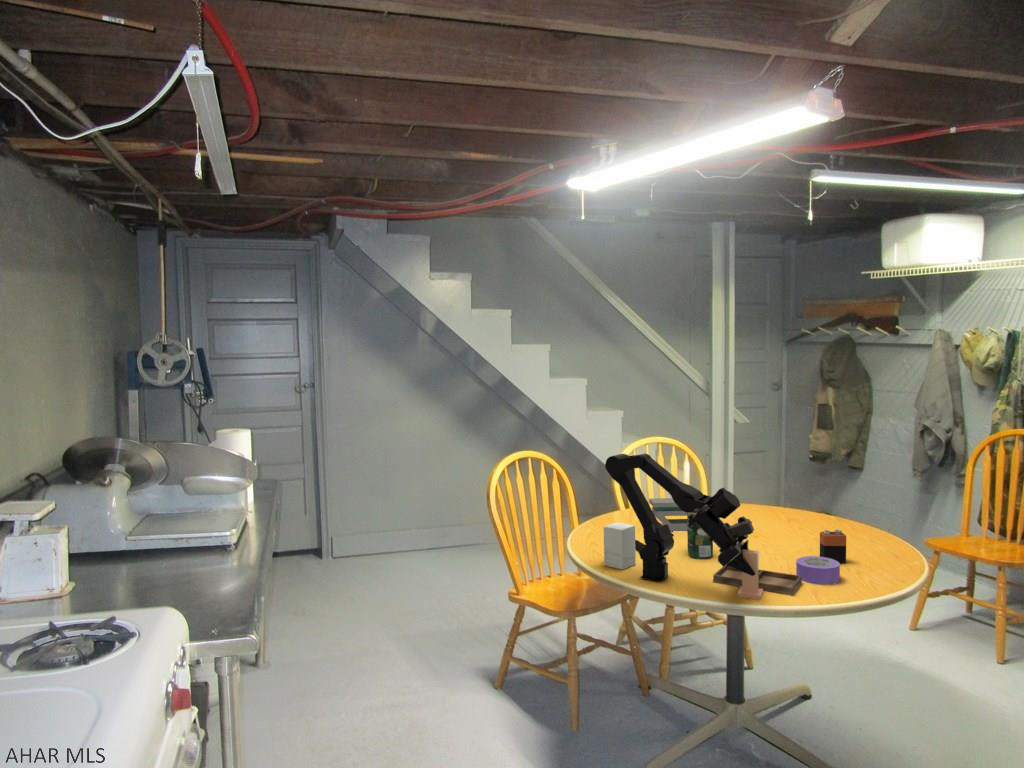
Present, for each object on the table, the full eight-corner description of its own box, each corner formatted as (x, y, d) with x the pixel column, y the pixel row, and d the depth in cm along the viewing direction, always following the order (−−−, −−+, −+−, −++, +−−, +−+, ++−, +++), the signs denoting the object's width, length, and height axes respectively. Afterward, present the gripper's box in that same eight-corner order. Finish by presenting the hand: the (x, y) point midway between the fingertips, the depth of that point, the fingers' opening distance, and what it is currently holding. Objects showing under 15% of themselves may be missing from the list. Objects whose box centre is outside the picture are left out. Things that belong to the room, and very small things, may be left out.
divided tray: (713, 581, 208) (713, 575, 208) (725, 570, 218) (725, 564, 217) (792, 595, 195) (792, 588, 195) (801, 582, 205) (801, 576, 205)
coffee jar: (685, 550, 239) (685, 496, 238) (709, 551, 239) (709, 496, 238) (689, 559, 230) (689, 502, 229) (715, 559, 229) (714, 502, 228)
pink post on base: (737, 596, 195) (737, 553, 195) (740, 589, 201) (740, 547, 200) (760, 599, 193) (760, 555, 192) (763, 592, 198) (763, 549, 198)
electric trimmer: (640, 547, 246) (640, 538, 246) (661, 559, 231) (661, 550, 231) (630, 548, 245) (630, 539, 245) (650, 561, 230) (650, 551, 230)
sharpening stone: (714, 525, 272) (714, 497, 271) (721, 530, 264) (720, 501, 264) (649, 526, 272) (649, 498, 271) (653, 532, 264) (653, 503, 263)
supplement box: (636, 564, 225) (636, 525, 224) (622, 570, 220) (622, 529, 219) (617, 560, 230) (617, 521, 230) (603, 565, 225) (602, 525, 224)
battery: (846, 563, 223) (846, 532, 222) (824, 563, 223) (824, 532, 223) (841, 559, 227) (841, 528, 226) (819, 559, 227) (819, 528, 227)
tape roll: (804, 585, 204) (804, 567, 204) (790, 572, 216) (790, 555, 216) (846, 585, 204) (846, 567, 203) (830, 572, 215) (830, 555, 215)
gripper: (730, 517, 189) (774, 562, 185) (740, 502, 206) (781, 544, 202) (700, 543, 193) (742, 588, 189) (712, 527, 210) (751, 568, 205)
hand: (755, 571), depth 196 cm, fingers open, 6 cm apart
